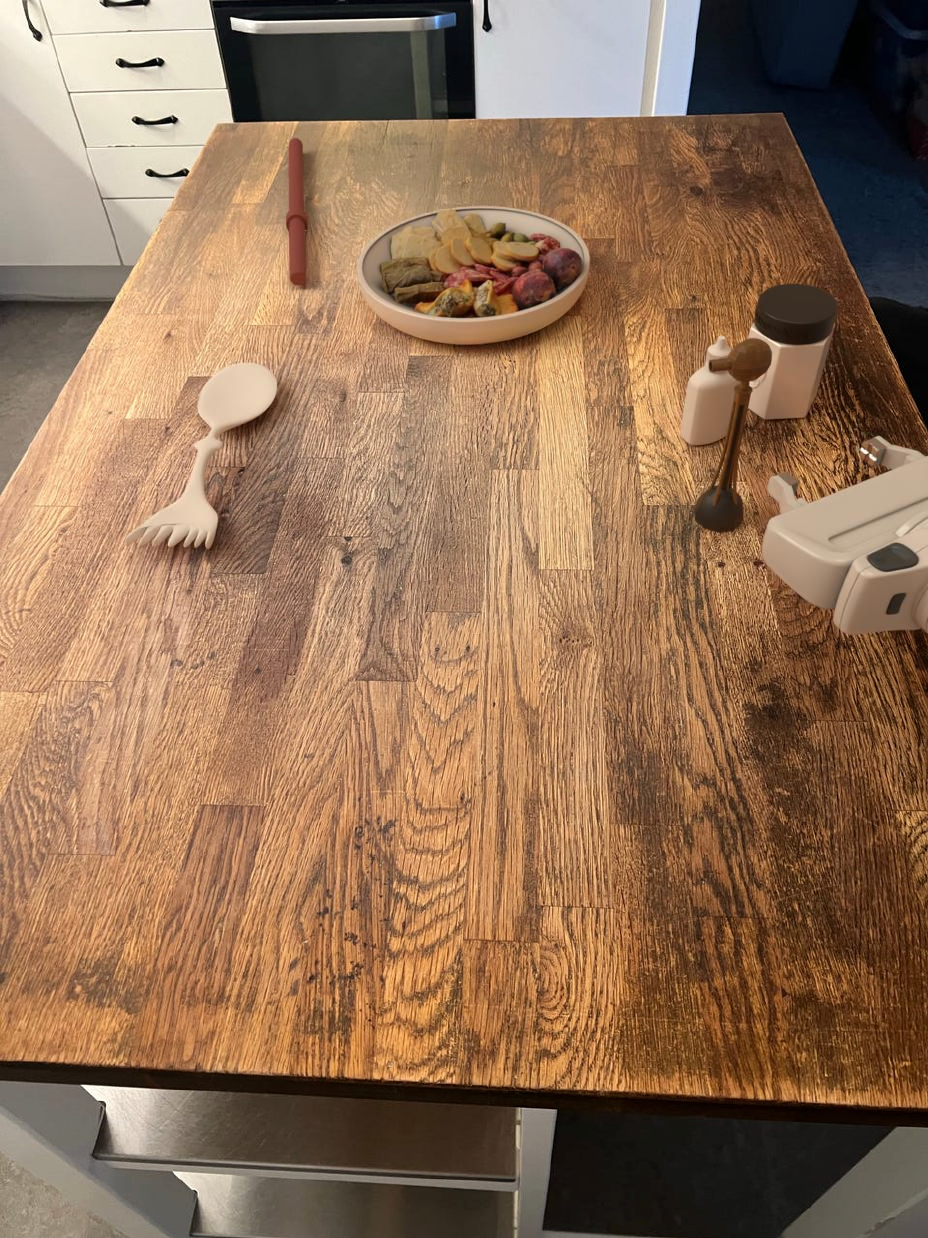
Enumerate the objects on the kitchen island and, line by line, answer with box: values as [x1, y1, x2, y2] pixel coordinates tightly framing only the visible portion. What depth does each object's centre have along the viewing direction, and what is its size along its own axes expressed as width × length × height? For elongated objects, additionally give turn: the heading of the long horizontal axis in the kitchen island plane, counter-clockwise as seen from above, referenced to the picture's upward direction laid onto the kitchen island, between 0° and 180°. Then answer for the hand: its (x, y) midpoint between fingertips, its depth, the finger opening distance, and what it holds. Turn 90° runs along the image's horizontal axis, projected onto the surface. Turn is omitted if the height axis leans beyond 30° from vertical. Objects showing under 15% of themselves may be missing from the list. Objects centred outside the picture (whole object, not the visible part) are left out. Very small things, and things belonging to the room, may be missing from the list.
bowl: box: [356, 205, 591, 346], centre depth 125 cm, size 30×30×8 cm
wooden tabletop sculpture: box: [694, 338, 772, 533], centre depth 89 cm, size 6×5×20 cm
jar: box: [747, 283, 839, 421], centre depth 105 cm, size 9×8×12 cm
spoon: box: [124, 362, 278, 550], centre depth 105 cm, size 9×32×4 cm, turn 174°
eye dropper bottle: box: [679, 335, 740, 446], centre depth 101 cm, size 4×6×12 cm
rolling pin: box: [285, 137, 309, 286], centre depth 144 cm, size 45×3×3 cm, turn 7°
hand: (822, 462), depth 79 cm, fingers open, 8 cm apart
